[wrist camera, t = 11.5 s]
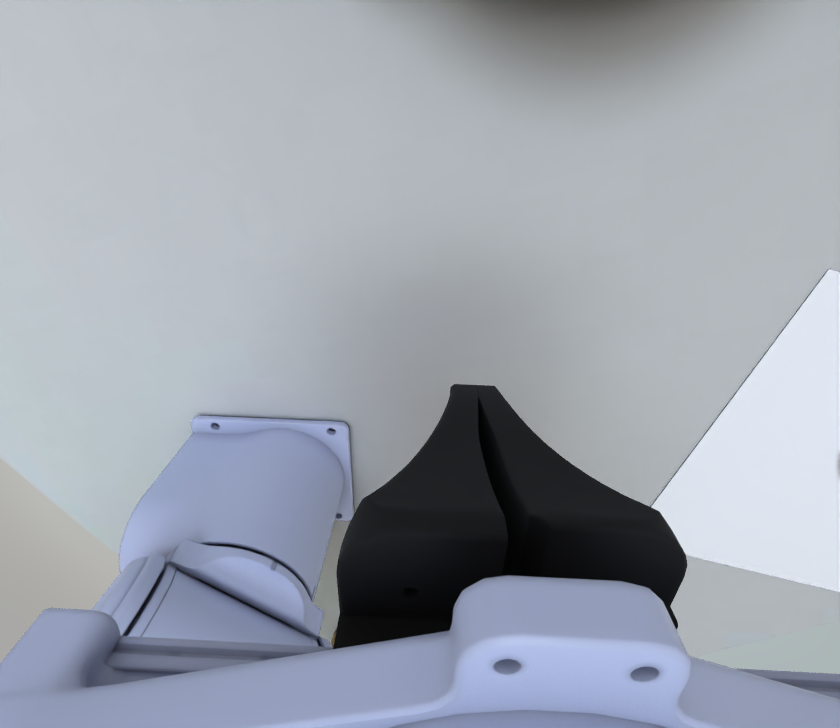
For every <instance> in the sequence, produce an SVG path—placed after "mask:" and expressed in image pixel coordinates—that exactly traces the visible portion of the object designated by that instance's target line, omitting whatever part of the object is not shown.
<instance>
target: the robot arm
mask: <svg viewBox="0 0 840 728" xmlns="http://www.w3.org/2000/svg"><path fill="white" fill-rule="evenodd" d="M214 423H217V424H218V425H219V426H216V425H215V424H214ZM191 428H192V432H193V434H192V435H191V436H190V437H189V439H188V440H187V441H186V443H185V444H184V445H183V446H182V448H181V449H180V450H179V451H178V453H177V454H176V455H175V456H174V458H173V459H172V460H171V461H170V463H169V464H168V465H167V466H166V468H165V469H164V470H163V471H162V473H161V474H160V475H159V477H158V478H157V479H156V480H155V482H154V483H153V484H152V485H151V487H150V488H149V489H148V490H147V492H146V493H145V494H144V495H143V497H142V498H141V499H140V501H139V502H138V504H137V505H136V507H135V509H134V511H133V512H132V514H131V517H130V519H129V521H128V523H127V526H126V529H125V532H124V535H123V538H122V542H121V546H120V553H119V570H120V574H119V576H118V577H117V578H116V579H115V580H114V582H113V583H112V584H111V585H110V587H109V588H108V589H107V591H106V592H105V593H104V594H103V596H102V597H101V598H100V600H99V601H98V602H97V604H96V605H95V606H94V607H93V609H92V610H79V609H60V608H49V609H45V610H44V611H42V613H41V614H40V615H39V616H38V618H37V619H36V620H35V621H34V623H33V624H32V625H31V626H30V627H29V629H28V630H27V631H26V632H25V634H24V635H23V636H22V637H21V639H20V640H19V641H18V642H17V643H16V645H15V646H14V647H13V648H12V650H11V651H10V652H9V653H8V654H7V656H6V657H5V658H4V659H3V661H2V662H1V663H0V728H840V674H828V673H809V672H790V671H771V670H753V669H734V668H729V667H726V666H722V665H719V664H716V663H713V662H709V661H706V660H702V659H699V658H695V657H692V656H689V655H688V653H687V651H686V649H685V647H684V645H683V643H682V641H681V639H680V637H679V634H678V632H677V628H678V623H677V620H676V618H675V616H674V614H673V612H672V609H671V607H670V605H671V603H672V601H673V599H674V597H675V595H676V593H677V591H678V589H679V587H680V585H681V582H682V580H683V578H684V576H685V572H686V568H687V560H686V554H685V552H684V551H683V549H682V547H681V545H680V544H679V542H678V540H677V538H676V536H675V535H674V533H673V531H672V529H671V528H670V526H669V525H668V523H667V522H666V520H665V519H664V517H663V516H662V514H661V513H660V512H659V511H658V510H655V509H653V508H651V507H649V506H646V505H644V504H642V503H640V502H638V501H635V500H633V499H631V498H629V497H627V496H624V495H622V494H620V493H619V492H617V491H615V490H613V489H611V488H609V487H608V486H606V485H604V484H602V483H600V482H599V481H597V480H595V479H594V478H592V477H590V476H589V475H587V474H586V473H584V472H583V471H581V470H580V469H578V468H577V467H575V466H574V465H572V464H571V463H569V462H568V461H567V460H565V459H564V458H563V457H561V456H560V455H559V454H558V453H556V452H555V451H554V450H553V449H552V448H550V447H549V446H548V445H547V444H546V443H544V442H543V441H542V440H541V439H540V438H539V437H538V436H537V435H536V434H535V433H534V432H533V431H532V430H531V429H530V428H529V427H528V426H527V425H526V424H525V423H524V421H523V420H522V419H521V418H520V417H519V416H518V415H517V413H516V412H515V411H514V410H513V409H512V407H511V406H510V405H509V404H508V402H507V401H506V400H505V399H504V397H503V396H502V395H501V393H500V392H499V391H498V389H497V388H496V387H495V386H484V385H460V384H454V385H453V386H452V387H451V389H450V397H449V401H448V403H447V406H446V408H445V411H444V413H443V415H442V417H441V419H440V421H439V423H438V425H437V426H436V428H435V430H434V431H433V433H432V435H431V436H430V438H429V439H428V441H427V442H426V443H425V445H424V446H423V447H422V449H421V450H420V451H419V452H418V453H417V455H416V456H415V457H414V458H413V459H412V460H411V461H410V462H409V463H408V464H407V465H406V467H404V468H403V469H402V470H401V471H400V472H399V473H398V474H397V475H395V476H394V477H393V478H392V479H391V480H390V481H389V482H387V483H386V484H385V485H383V486H382V487H381V488H379V489H378V490H376V491H375V492H373V493H372V494H370V495H369V496H367V497H365V498H364V499H362V501H361V503H360V504H359V506H358V508H357V510H356V512H355V514H354V506H353V489H352V472H351V455H350V438H349V427H348V426H347V424H345V423H344V422H334V421H312V420H289V419H266V418H244V417H221V416H196V417H194V418H193V419H192V421H191ZM329 428H333V429H334V430H335V431H330V430H329ZM337 513H340V514H337ZM353 514H354V516H353ZM351 519H352V520H351ZM335 520H337V521H349V520H351V522H350V524H349V526H348V529H347V531H346V534H345V537H344V539H343V542H342V546H341V550H340V555H339V559H338V565H337V584H338V595H339V606H340V616H339V621H338V626H337V631H336V636H335V641H334V646H333V647H332V646H331V644H330V643H329V642H328V641H327V640H326V639H324V638H321V637H319V633H320V629H321V625H322V620H323V616H324V611H323V610H321V609H320V608H318V607H317V606H316V605H315V604H313V601H314V597H315V593H316V589H317V586H318V582H319V578H320V574H321V570H322V566H323V563H324V559H325V555H326V551H327V547H328V544H329V540H330V536H331V532H332V528H333V524H334V521H335Z"/></svg>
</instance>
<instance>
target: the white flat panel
mask: <svg viewBox="0 0 840 728" xmlns="http://www.w3.org/2000/svg"><path fill="white" fill-rule="evenodd" d="M651 508H653V509H655V510H658V511H659V512H660V513H661V514H662V516H663V517H664V519H665V520H666V522H667V523H668V525H669V526H670V528H671V529H672V531H673V533H674V535H675V536H676V538H677V540H678V542H679V544H680V545H681V547H682V549H683V551H684V552H685V554H686V555H688V556H692V557H696V558H700V559H705V560H709V561H713V562H717V563H721V564H725V565H729V566H734V567H738V568H742V569H746V570H750V571H754V572H759V573H763V574H767V575H771V576H775V577H779V578H783V579H788V580H792V581H796V582H800V583H804V584H808V585H812V586H817V587H821V588H825V589H829V590H833V591H837V592H840V273H839V272H836V271H833V270H830V269H829V270H828V271H827V273H826V274H825V275H824V277H823V278H822V279H821V281H820V282H819V283H818V285H817V286H816V287H815V289H814V290H813V291H812V293H811V294H810V295H809V297H808V298H807V299H806V301H805V302H804V303H803V305H802V306H801V307H800V309H799V310H798V311H797V313H796V314H795V315H794V317H793V318H792V319H791V321H790V322H789V323H788V325H787V326H786V327H785V329H784V330H783V331H782V333H781V334H780V335H779V337H778V338H777V339H776V341H775V342H774V343H773V345H772V346H771V347H770V349H769V350H768V351H767V353H766V354H765V355H764V357H763V358H762V359H761V361H760V362H759V363H758V365H757V366H756V367H755V369H754V370H753V371H752V373H751V374H750V375H749V377H748V378H747V379H746V381H745V382H744V383H743V385H742V386H741V387H740V389H739V390H738V391H737V393H736V394H735V395H734V397H733V398H732V399H731V401H730V402H729V403H728V405H727V406H726V407H725V409H724V410H723V411H722V413H721V414H720V415H719V417H718V418H717V419H716V421H715V422H714V423H713V425H712V426H711V428H710V429H709V430H708V432H707V433H706V434H705V436H704V437H703V438H702V440H701V441H700V442H699V444H698V445H697V446H696V448H695V449H694V450H693V452H692V453H691V454H690V456H689V457H688V458H687V460H686V461H685V462H684V464H683V465H682V466H681V468H680V469H679V470H678V472H677V473H676V474H675V476H674V477H673V478H672V480H671V481H670V482H669V484H668V485H667V486H666V488H665V489H664V490H663V492H662V493H661V494H660V496H659V497H658V498H657V500H656V501H655V502H654V504H653V505H652V506H651Z"/></svg>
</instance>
